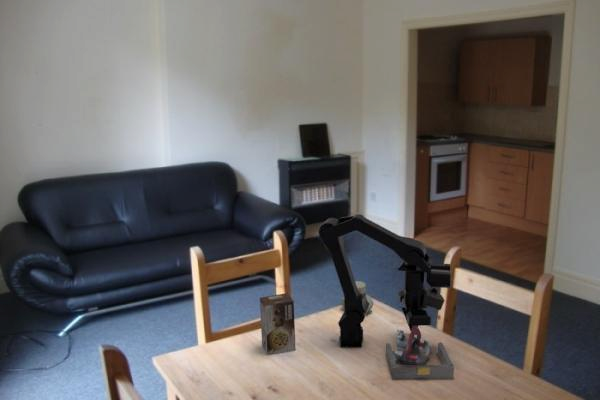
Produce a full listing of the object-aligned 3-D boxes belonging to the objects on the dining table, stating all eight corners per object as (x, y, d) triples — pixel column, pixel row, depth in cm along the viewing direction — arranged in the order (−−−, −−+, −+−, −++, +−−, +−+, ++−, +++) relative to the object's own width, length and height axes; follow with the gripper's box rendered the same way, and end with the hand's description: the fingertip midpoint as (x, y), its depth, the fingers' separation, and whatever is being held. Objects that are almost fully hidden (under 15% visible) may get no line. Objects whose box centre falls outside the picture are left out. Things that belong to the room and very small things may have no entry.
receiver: (392, 380, 152) (393, 368, 151) (385, 354, 166) (385, 343, 165) (453, 379, 151) (454, 368, 151) (441, 353, 165) (442, 342, 164)
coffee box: (289, 341, 175) (288, 292, 171) (296, 350, 169) (294, 300, 165) (261, 346, 172) (259, 296, 168) (266, 356, 166) (264, 305, 162)
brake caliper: (430, 365, 154) (405, 327, 156) (399, 379, 160) (376, 342, 161) (442, 347, 164) (419, 312, 165) (413, 361, 169) (390, 327, 171)
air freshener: (338, 308, 197) (337, 282, 195) (356, 303, 202) (356, 276, 200) (358, 319, 189) (358, 291, 186) (376, 313, 193) (377, 286, 191)
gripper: (450, 297, 154) (448, 348, 158) (434, 272, 172) (433, 319, 176) (409, 298, 154) (408, 349, 158) (398, 273, 172) (397, 320, 176)
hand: (413, 333), depth 167 cm, fingers closed
